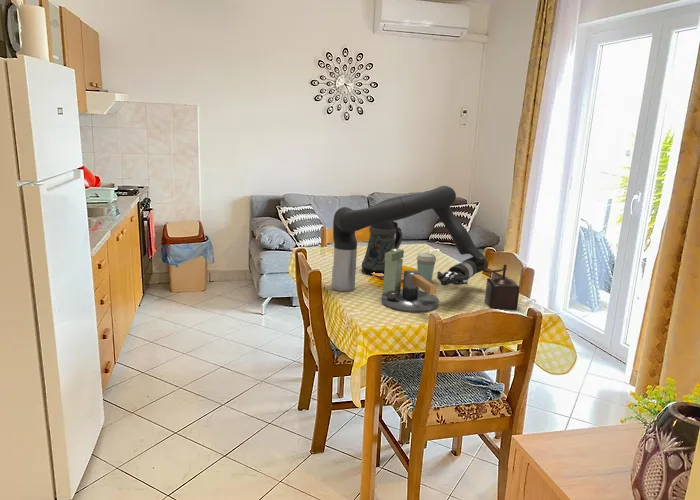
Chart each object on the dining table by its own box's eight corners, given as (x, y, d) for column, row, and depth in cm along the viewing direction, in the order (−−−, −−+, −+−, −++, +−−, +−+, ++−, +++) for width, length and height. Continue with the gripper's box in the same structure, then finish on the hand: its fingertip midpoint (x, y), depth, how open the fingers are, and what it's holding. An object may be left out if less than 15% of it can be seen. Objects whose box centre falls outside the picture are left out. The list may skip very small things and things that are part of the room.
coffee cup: (433, 285, 231) (436, 258, 228) (414, 283, 232) (416, 256, 230) (434, 279, 239) (437, 253, 236) (415, 277, 241) (417, 251, 238)
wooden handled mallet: (399, 295, 208) (401, 270, 205) (413, 294, 209) (415, 269, 207) (423, 313, 188) (425, 286, 186) (438, 312, 190) (441, 286, 188)
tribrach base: (370, 303, 203) (373, 253, 198) (397, 290, 221) (400, 243, 216) (423, 317, 192) (428, 263, 187) (447, 301, 210) (451, 252, 205)
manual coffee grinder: (509, 300, 215) (514, 257, 211) (517, 310, 204) (523, 264, 200) (470, 299, 215) (475, 255, 210) (477, 308, 204) (482, 262, 200)
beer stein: (355, 273, 243) (358, 219, 237) (371, 264, 260) (374, 213, 254) (389, 279, 236) (393, 223, 230) (403, 269, 253) (407, 217, 248)
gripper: (445, 261, 214) (427, 269, 199) (477, 267, 207) (461, 276, 192) (444, 279, 215) (426, 289, 201) (475, 285, 208) (459, 296, 194)
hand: (443, 282), depth 197 cm, fingers closed
